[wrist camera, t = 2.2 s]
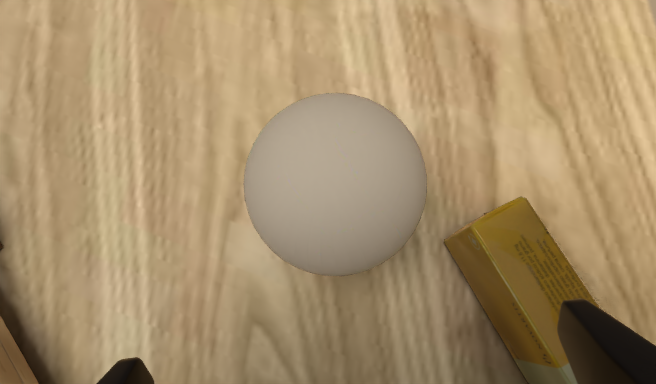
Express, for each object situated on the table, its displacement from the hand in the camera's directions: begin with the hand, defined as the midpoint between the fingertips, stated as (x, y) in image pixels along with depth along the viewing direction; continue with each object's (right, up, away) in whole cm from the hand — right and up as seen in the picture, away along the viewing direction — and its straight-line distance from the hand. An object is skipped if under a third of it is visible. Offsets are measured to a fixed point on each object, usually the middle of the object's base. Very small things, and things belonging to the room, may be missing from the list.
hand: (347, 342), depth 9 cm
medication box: (+9, -3, +10) cm, 14 cm away
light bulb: (+1, +2, +12) cm, 12 cm away
